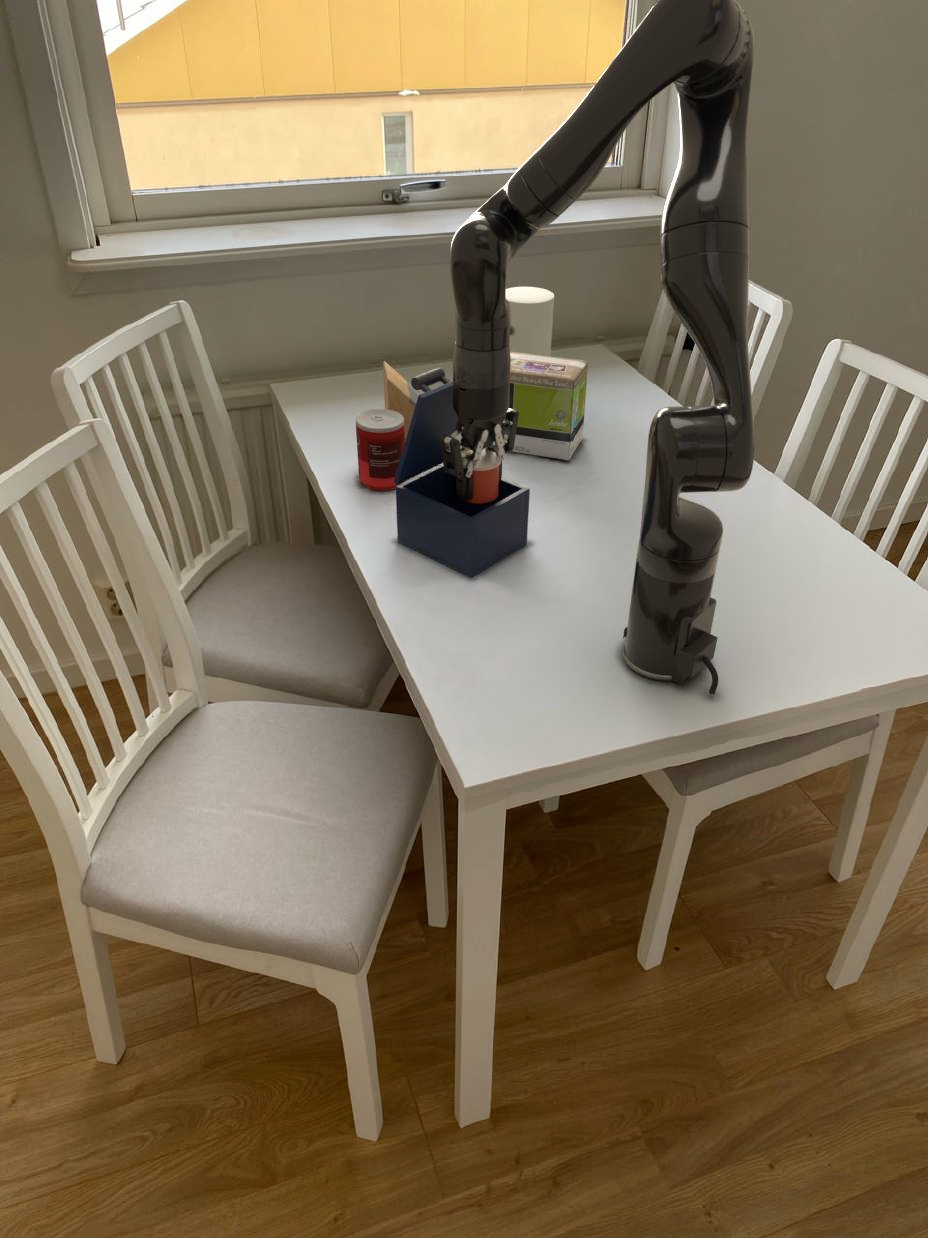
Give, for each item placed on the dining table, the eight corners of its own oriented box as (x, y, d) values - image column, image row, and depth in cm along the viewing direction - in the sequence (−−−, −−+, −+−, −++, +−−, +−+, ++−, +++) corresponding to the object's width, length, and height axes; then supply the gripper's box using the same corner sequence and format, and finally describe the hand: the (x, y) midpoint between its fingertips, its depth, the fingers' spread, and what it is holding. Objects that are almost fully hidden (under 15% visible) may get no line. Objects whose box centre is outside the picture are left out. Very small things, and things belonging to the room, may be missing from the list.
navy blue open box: (527, 544, 143) (530, 488, 138) (471, 578, 136) (471, 520, 130) (454, 511, 151) (454, 457, 146) (397, 542, 143) (395, 486, 138)
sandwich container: (478, 457, 166) (480, 374, 158) (390, 463, 165) (387, 379, 156) (471, 436, 173) (472, 355, 165) (386, 441, 171) (382, 359, 163)
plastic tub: (508, 493, 137) (509, 457, 133) (481, 508, 133) (481, 472, 130) (477, 480, 140) (477, 445, 137) (449, 494, 136) (449, 458, 133)
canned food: (381, 465, 164) (378, 404, 157) (416, 479, 160) (414, 417, 153) (348, 481, 159) (344, 419, 153) (384, 496, 155) (381, 433, 148)
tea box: (583, 439, 173) (590, 359, 164) (568, 462, 165) (575, 380, 157) (503, 426, 177) (506, 348, 168) (485, 449, 169) (487, 367, 161)
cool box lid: (485, 371, 134) (458, 349, 136) (422, 398, 126) (394, 374, 128) (456, 456, 145) (431, 435, 147) (397, 485, 138) (371, 462, 139)
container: (488, 391, 190) (490, 289, 179) (532, 384, 194) (538, 282, 182) (511, 410, 183) (515, 304, 171) (557, 402, 186) (564, 298, 175)
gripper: (495, 354, 133) (492, 465, 142) (422, 383, 124) (424, 500, 134) (538, 368, 129) (531, 481, 138) (466, 399, 120) (465, 518, 130)
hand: (479, 490), depth 136 cm, fingers closed on plastic tub, 5 cm apart
